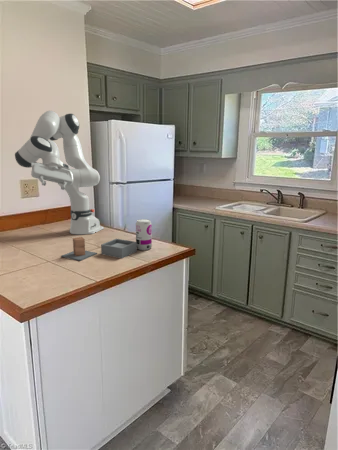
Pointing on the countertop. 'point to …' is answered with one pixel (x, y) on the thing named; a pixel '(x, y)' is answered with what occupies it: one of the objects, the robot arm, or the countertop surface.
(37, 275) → the countertop surface
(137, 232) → the supplement can
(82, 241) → the block
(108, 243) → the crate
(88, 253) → the mat
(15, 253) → the countertop surface
